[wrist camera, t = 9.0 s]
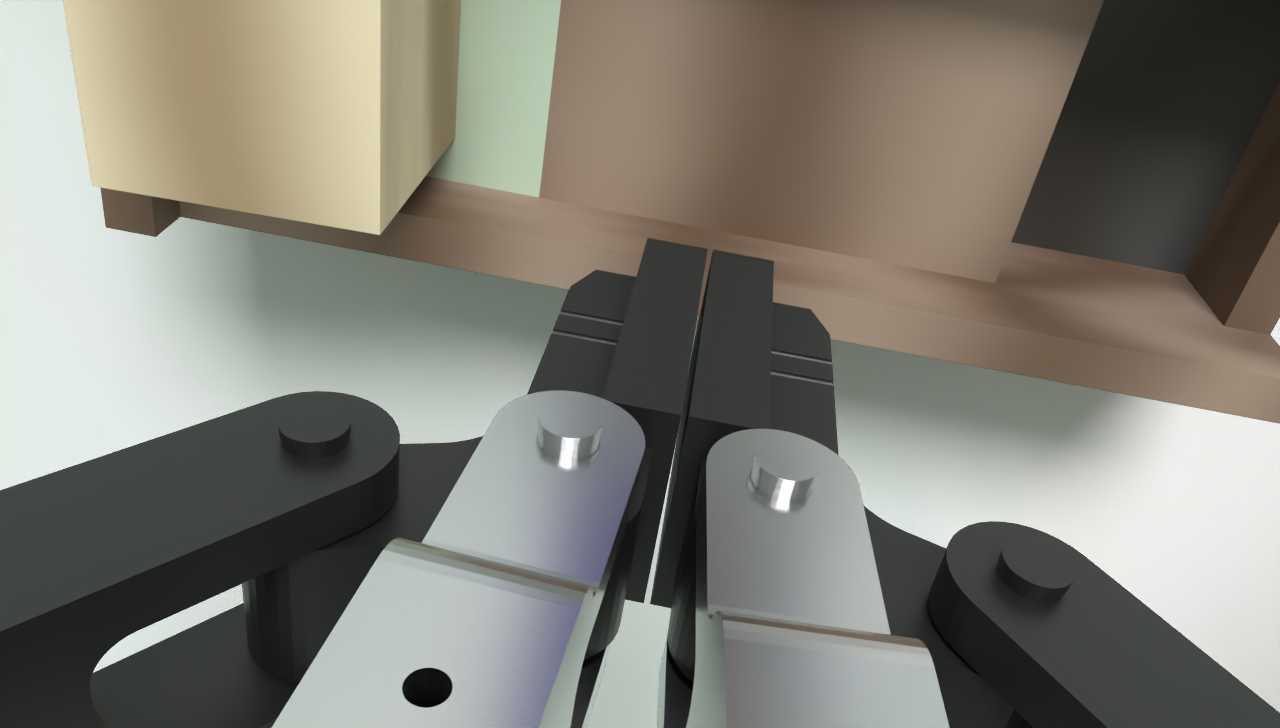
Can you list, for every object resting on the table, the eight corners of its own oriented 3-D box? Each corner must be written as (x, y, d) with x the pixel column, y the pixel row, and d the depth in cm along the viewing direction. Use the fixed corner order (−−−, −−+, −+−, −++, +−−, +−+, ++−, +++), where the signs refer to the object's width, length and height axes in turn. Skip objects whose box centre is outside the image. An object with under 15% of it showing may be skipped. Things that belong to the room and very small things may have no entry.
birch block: (466, -121, 19) (380, -80, 15) (455, 137, 22) (379, 234, 17) (201, -165, 19) (41, -137, 15) (223, 98, 22) (92, 185, 18)
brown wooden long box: (1399, -83, 20) (1610, -22, 15) (1199, 308, 25) (1309, 454, 20) (215, -302, 21) (33, -315, 15) (238, 128, 25) (105, 227, 20)
